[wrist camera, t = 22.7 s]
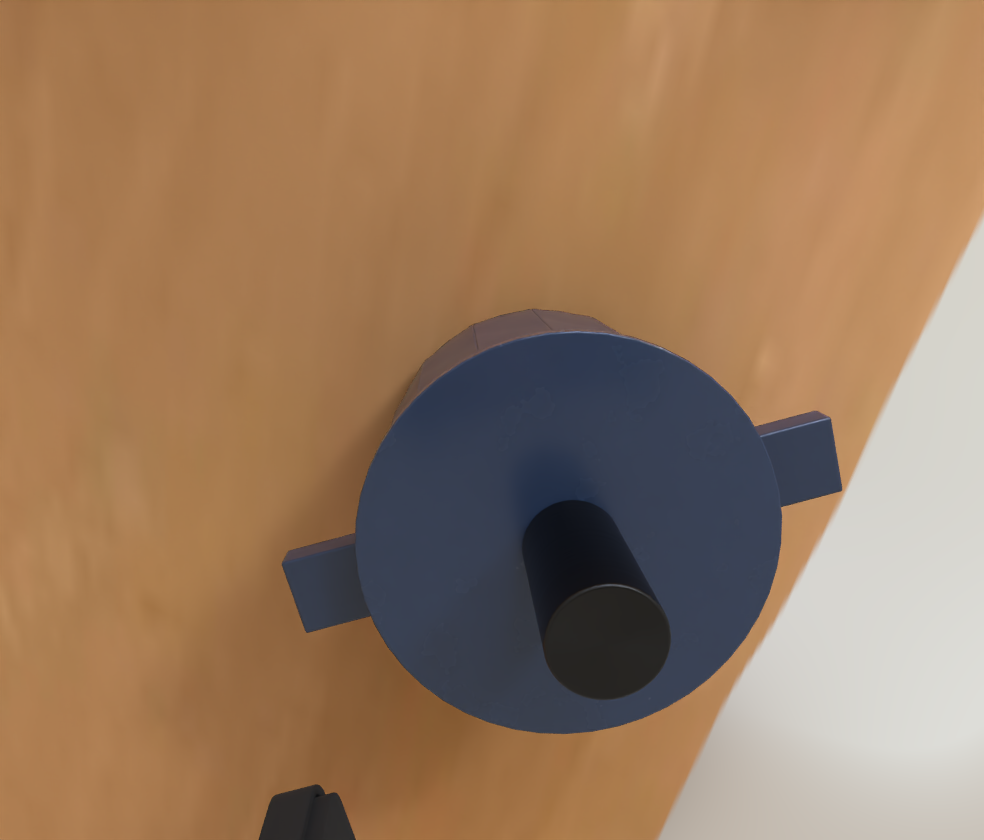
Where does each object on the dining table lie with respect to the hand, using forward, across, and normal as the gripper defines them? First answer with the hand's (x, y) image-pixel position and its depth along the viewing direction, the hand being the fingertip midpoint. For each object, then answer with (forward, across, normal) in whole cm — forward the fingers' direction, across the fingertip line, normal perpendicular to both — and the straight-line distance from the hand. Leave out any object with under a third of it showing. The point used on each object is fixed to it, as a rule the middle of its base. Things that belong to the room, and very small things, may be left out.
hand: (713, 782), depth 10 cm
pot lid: (+13, 0, +2) cm, 13 cm away
